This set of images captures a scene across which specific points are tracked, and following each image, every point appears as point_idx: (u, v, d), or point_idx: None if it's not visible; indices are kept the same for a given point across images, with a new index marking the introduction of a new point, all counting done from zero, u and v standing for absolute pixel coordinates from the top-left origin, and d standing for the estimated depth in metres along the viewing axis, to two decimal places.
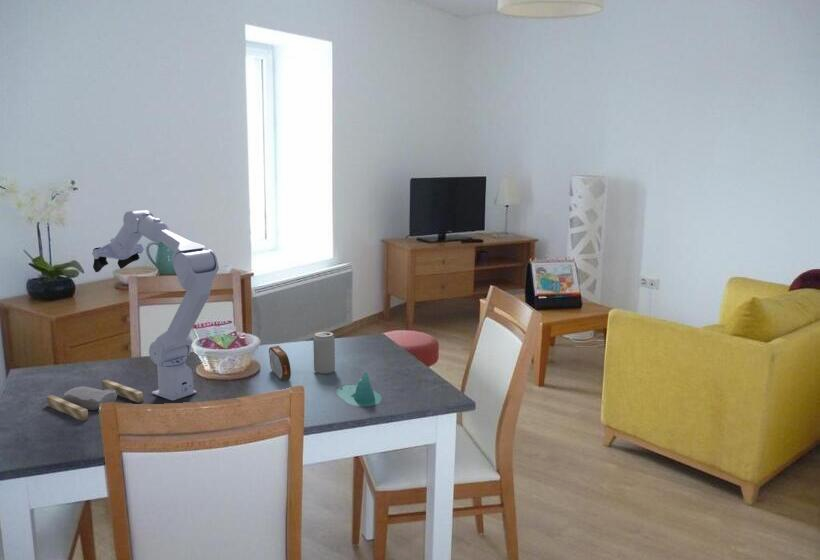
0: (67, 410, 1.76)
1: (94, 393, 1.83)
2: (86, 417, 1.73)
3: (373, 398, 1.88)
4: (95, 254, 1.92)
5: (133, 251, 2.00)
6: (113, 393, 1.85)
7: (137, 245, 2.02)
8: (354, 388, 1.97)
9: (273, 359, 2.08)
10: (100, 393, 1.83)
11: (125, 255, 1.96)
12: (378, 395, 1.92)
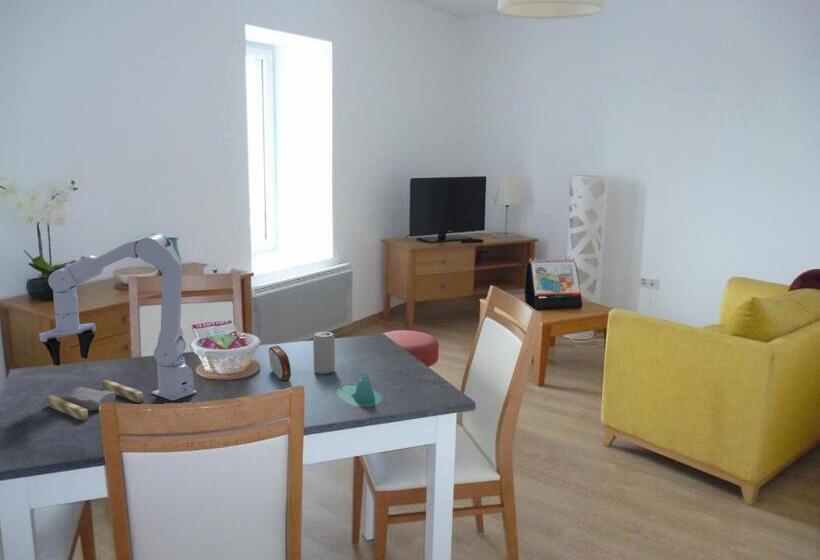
0: (67, 410, 1.76)
1: (92, 394, 1.82)
2: (86, 417, 1.73)
3: (373, 398, 1.88)
4: (41, 336, 1.81)
5: None
6: (112, 394, 1.84)
7: None
8: (354, 388, 1.97)
9: (273, 359, 2.08)
10: (99, 394, 1.82)
11: (73, 326, 1.85)
12: (378, 395, 1.92)
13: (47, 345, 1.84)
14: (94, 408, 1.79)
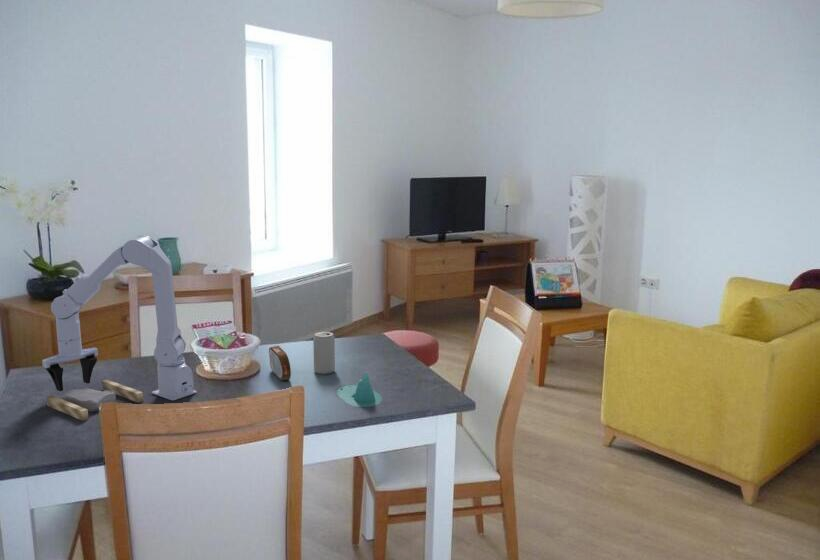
0: (67, 410, 1.76)
1: (92, 394, 1.82)
2: (86, 417, 1.73)
3: (373, 398, 1.88)
4: (44, 363, 1.82)
5: None
6: (112, 394, 1.84)
7: None
8: (354, 388, 1.97)
9: (273, 359, 2.08)
10: (98, 394, 1.82)
11: (75, 352, 1.86)
12: (378, 395, 1.92)
13: (50, 371, 1.85)
14: (93, 409, 1.78)
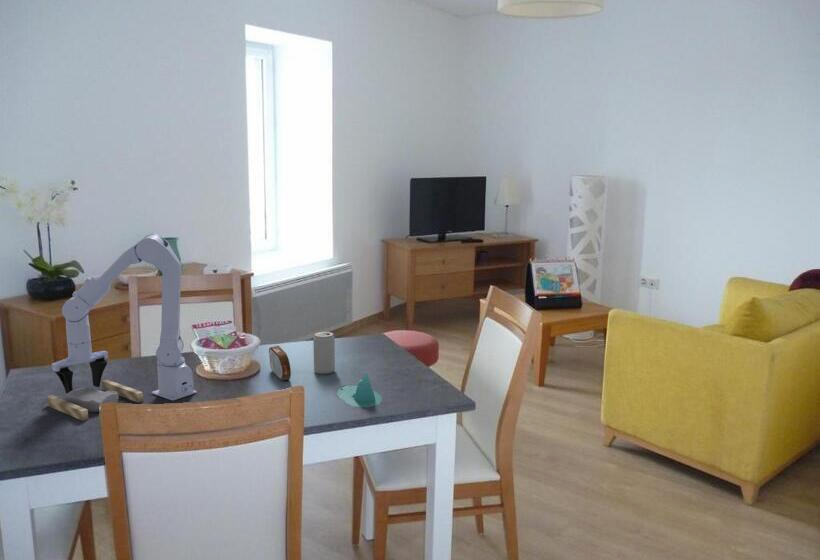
0: (67, 410, 1.76)
1: (95, 394, 1.81)
2: (86, 417, 1.73)
3: (373, 399, 1.88)
4: (54, 366, 1.80)
5: (96, 356, 1.88)
6: (114, 395, 1.83)
7: (100, 352, 1.91)
8: (354, 389, 1.97)
9: (273, 359, 2.08)
10: (101, 394, 1.81)
11: (85, 355, 1.84)
12: (378, 396, 1.91)
13: (59, 375, 1.83)
14: (96, 409, 1.78)
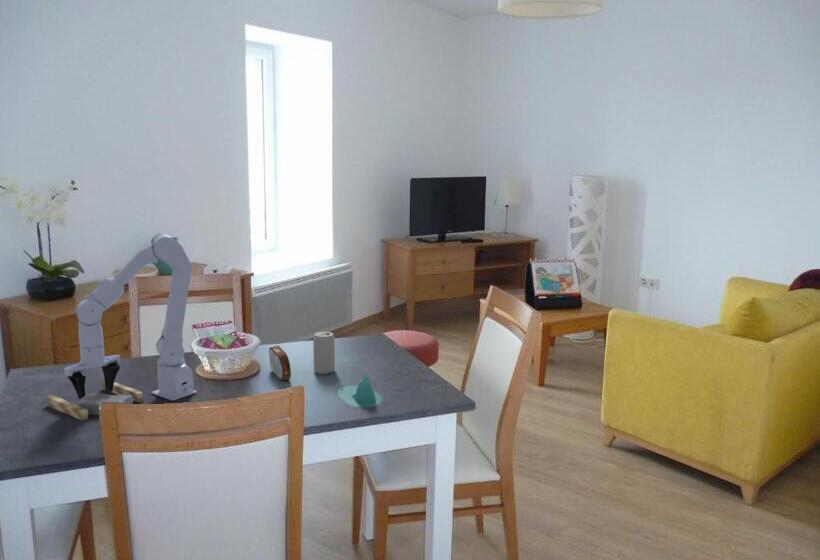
0: (67, 410, 1.76)
1: (111, 398, 1.79)
2: (86, 417, 1.73)
3: (374, 399, 1.87)
4: (66, 371, 1.76)
5: (109, 360, 1.85)
6: (130, 397, 1.82)
7: None
8: (355, 389, 1.96)
9: (273, 359, 2.08)
10: (118, 398, 1.79)
11: (98, 359, 1.80)
12: (379, 396, 1.91)
13: (72, 379, 1.79)
14: None
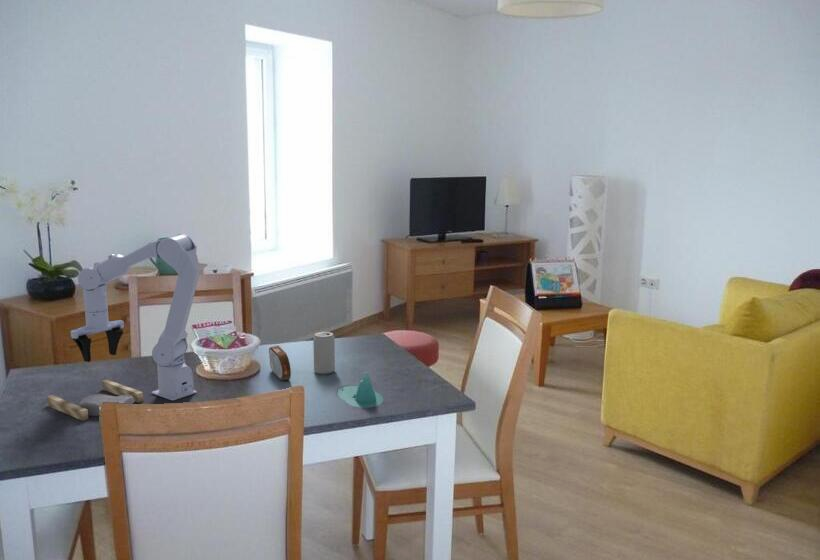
0: (67, 410, 1.76)
1: (112, 399, 1.79)
2: (86, 417, 1.73)
3: (374, 399, 1.87)
4: (73, 333, 1.85)
5: None
6: (131, 399, 1.81)
7: (116, 321, 1.96)
8: (355, 389, 1.96)
9: (273, 359, 2.08)
10: (119, 399, 1.79)
11: (103, 323, 1.89)
12: (379, 396, 1.91)
13: (78, 342, 1.88)
14: None
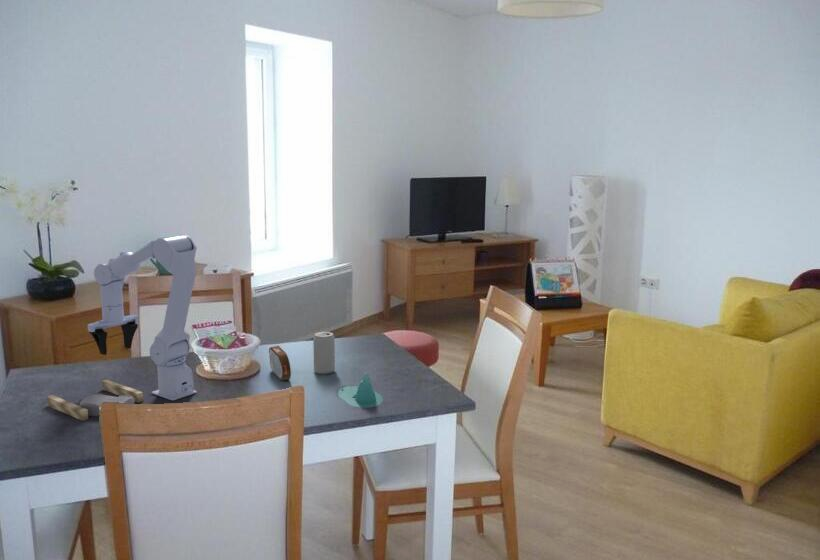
0: (67, 410, 1.76)
1: (112, 400, 1.78)
2: (86, 417, 1.73)
3: (374, 399, 1.87)
4: (89, 327, 1.91)
5: (128, 319, 2.00)
6: (131, 399, 1.81)
7: None
8: (355, 389, 1.96)
9: (273, 359, 2.08)
10: (119, 399, 1.78)
11: (118, 317, 1.95)
12: (379, 396, 1.91)
13: (94, 335, 1.94)
14: None
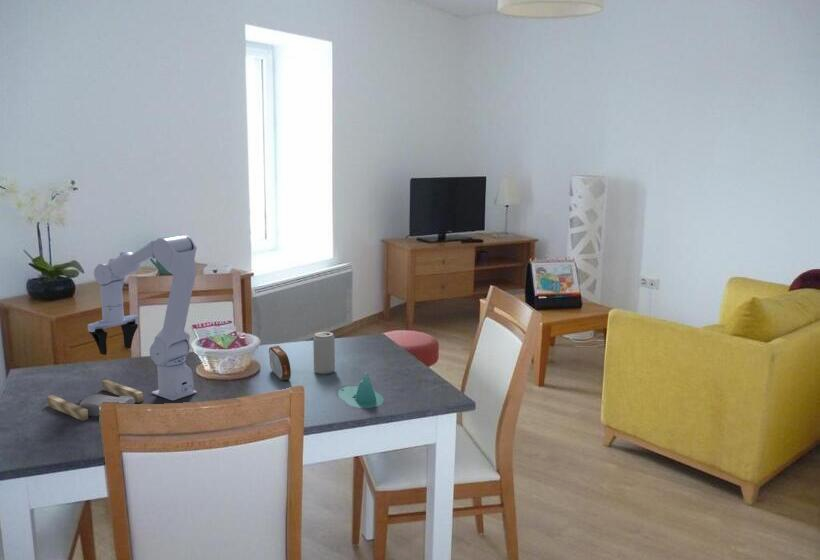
0: (67, 410, 1.76)
1: (113, 400, 1.78)
2: (86, 417, 1.73)
3: (374, 399, 1.87)
4: (89, 327, 1.91)
5: (128, 319, 2.00)
6: (132, 399, 1.81)
7: None
8: (355, 389, 1.96)
9: (273, 359, 2.08)
10: (119, 400, 1.78)
11: (118, 317, 1.95)
12: (379, 396, 1.91)
13: (94, 335, 1.94)
14: None
